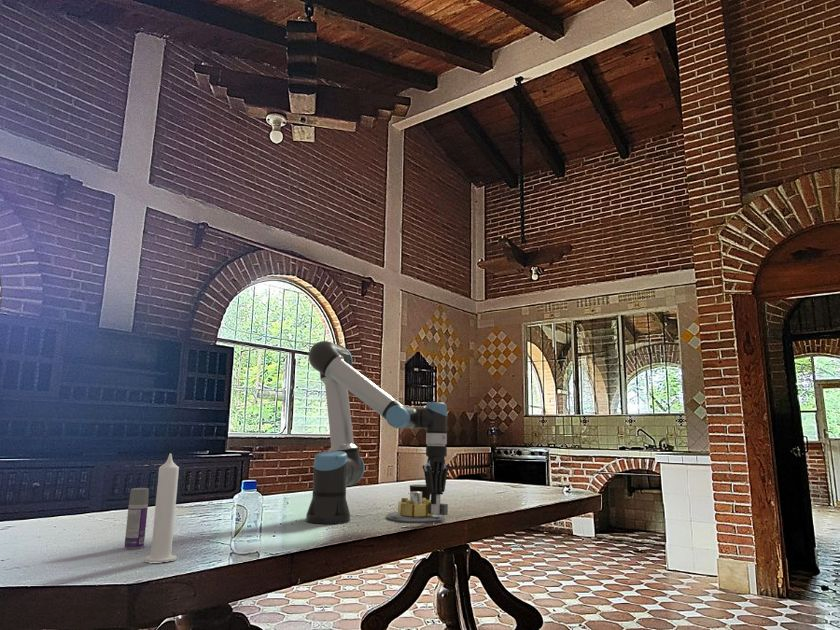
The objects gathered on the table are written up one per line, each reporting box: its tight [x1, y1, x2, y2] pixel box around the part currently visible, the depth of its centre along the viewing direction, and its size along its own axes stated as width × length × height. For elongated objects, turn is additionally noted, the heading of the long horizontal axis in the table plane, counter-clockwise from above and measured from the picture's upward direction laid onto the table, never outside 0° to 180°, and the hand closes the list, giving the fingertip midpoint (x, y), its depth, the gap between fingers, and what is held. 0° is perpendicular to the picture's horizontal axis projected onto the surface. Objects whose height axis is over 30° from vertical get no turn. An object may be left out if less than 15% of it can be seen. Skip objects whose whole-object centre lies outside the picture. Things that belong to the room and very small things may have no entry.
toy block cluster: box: [397, 497, 449, 517], centre depth 214 cm, size 19×12×5 cm, turn 59°
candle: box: [143, 453, 180, 562], centre depth 144 cm, size 7×7×25 cm
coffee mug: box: [409, 484, 431, 500], centre depth 234 cm, size 12×9×10 cm
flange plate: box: [386, 491, 446, 524], centre depth 216 cm, size 21×21×9 cm
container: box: [123, 487, 150, 550], centre depth 157 cm, size 5×5×15 cm
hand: (435, 513), depth 209 cm, fingers closed
